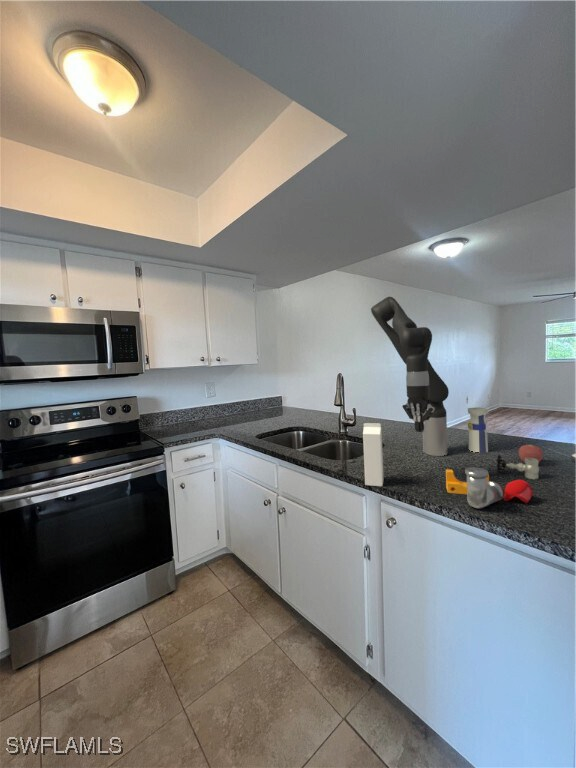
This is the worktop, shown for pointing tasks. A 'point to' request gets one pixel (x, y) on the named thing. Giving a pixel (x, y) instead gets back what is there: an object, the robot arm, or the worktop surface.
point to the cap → (518, 491)
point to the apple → (530, 452)
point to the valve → (521, 467)
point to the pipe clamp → (456, 483)
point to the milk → (373, 454)
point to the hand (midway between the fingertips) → (419, 431)
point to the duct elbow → (481, 488)
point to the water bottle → (477, 429)
